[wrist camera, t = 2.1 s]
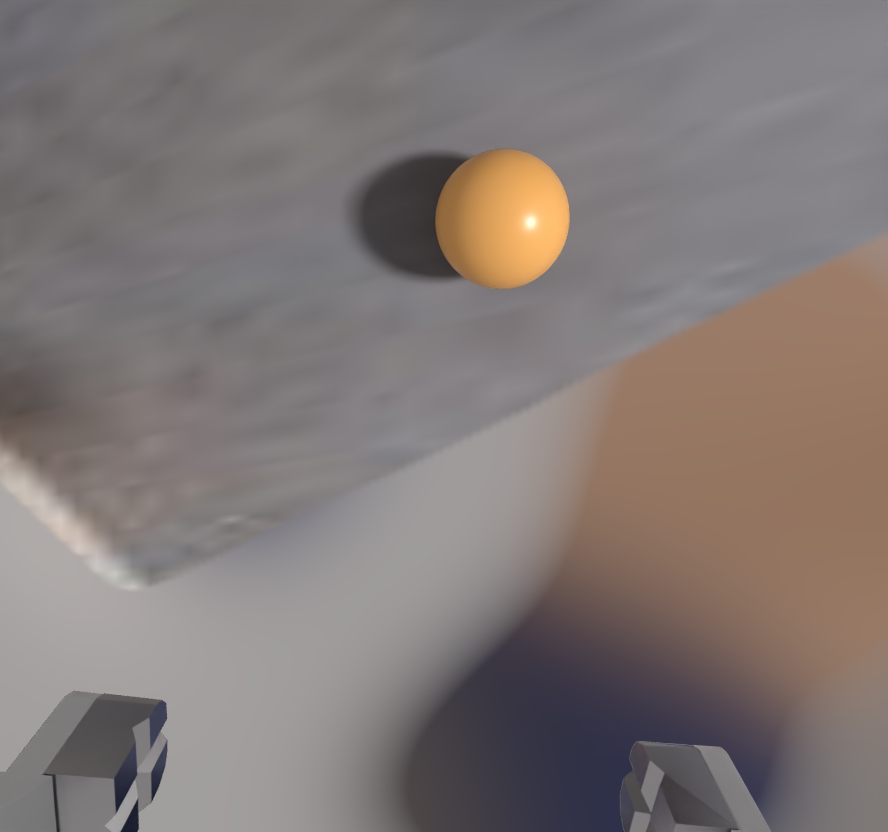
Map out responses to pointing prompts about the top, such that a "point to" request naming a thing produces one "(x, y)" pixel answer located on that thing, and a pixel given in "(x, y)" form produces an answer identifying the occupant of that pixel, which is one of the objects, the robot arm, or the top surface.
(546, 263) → the ball
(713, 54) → the top surface
